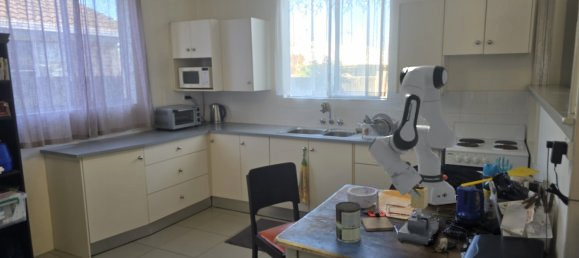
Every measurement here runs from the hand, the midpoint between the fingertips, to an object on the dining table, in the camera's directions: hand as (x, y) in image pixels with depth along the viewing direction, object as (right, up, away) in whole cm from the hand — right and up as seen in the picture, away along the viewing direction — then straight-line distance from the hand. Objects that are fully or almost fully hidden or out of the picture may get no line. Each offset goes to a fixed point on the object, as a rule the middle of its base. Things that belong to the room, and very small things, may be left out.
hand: (421, 196), depth 171 cm
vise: (0, -16, +3) cm, 17 cm away
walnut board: (-16, -15, +13) cm, 25 cm away
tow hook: (-13, -14, +25) cm, 31 cm away
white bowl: (-17, -11, +39) cm, 44 cm away
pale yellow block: (0, -5, +1) cm, 5 cm away
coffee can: (-30, -18, +1) cm, 35 cm away
